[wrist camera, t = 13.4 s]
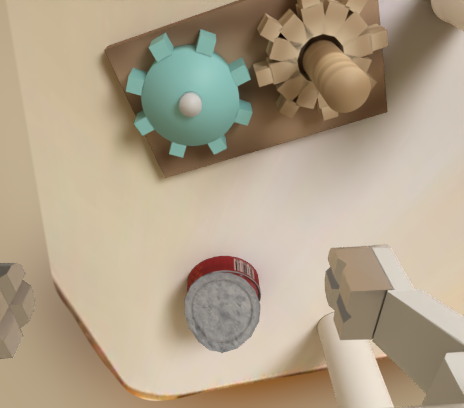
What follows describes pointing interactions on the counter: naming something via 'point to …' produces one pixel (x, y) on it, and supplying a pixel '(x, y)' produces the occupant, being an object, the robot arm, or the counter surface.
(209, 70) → the gear
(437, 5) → the drinking glass
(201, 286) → the canned food
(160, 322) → the counter surface
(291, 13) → the loose gear
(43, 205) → the counter surface
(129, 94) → the gear board
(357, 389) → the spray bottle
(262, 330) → the counter surface
